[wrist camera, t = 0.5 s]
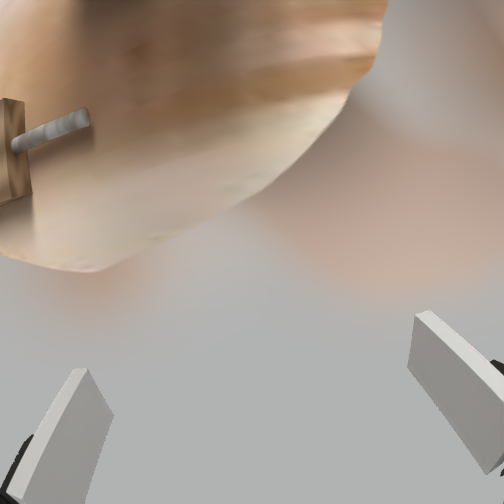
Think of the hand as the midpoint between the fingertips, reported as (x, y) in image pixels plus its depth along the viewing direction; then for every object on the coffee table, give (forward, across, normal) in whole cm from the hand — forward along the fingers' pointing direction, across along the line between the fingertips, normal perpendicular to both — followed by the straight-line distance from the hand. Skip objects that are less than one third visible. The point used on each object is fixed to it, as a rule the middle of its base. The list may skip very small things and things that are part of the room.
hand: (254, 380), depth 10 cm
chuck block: (+27, -28, +18) cm, 43 cm away
